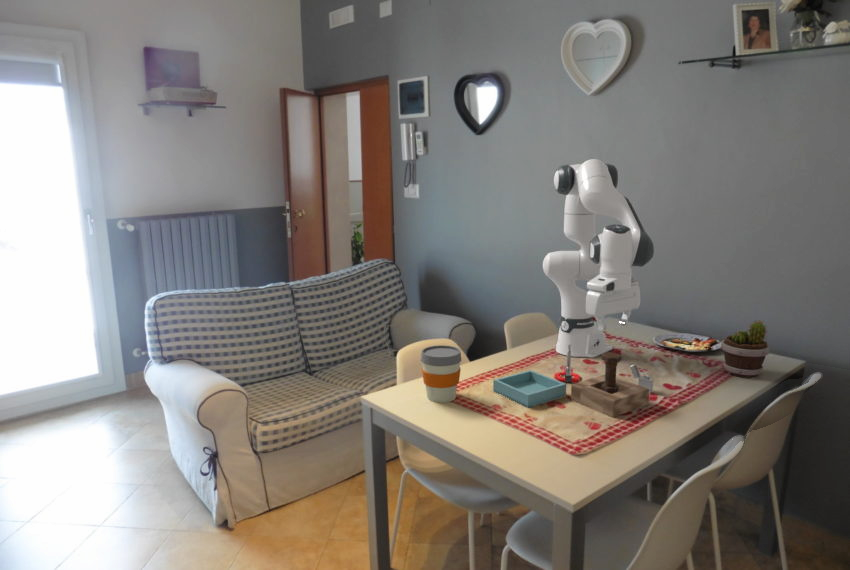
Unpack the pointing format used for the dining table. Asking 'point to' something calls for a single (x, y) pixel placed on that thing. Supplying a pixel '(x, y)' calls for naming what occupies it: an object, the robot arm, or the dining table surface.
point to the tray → (529, 388)
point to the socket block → (610, 396)
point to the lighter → (642, 378)
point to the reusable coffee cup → (441, 372)
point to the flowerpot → (746, 351)
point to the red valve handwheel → (568, 371)
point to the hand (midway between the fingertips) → (612, 327)
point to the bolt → (610, 372)
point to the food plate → (685, 345)
